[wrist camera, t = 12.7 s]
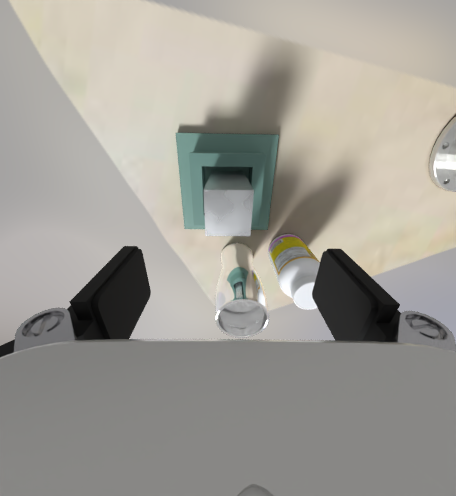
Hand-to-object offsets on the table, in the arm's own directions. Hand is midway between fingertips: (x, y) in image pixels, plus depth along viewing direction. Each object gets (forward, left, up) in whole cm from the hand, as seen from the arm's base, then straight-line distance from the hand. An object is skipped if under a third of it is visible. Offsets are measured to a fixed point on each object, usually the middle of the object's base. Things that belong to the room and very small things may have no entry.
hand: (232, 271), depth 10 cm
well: (0, 0, -24) cm, 24 cm away
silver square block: (0, 0, -23) cm, 23 cm away
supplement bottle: (-11, +11, -24) cm, 28 cm away
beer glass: (-2, +13, -24) cm, 27 cm away
